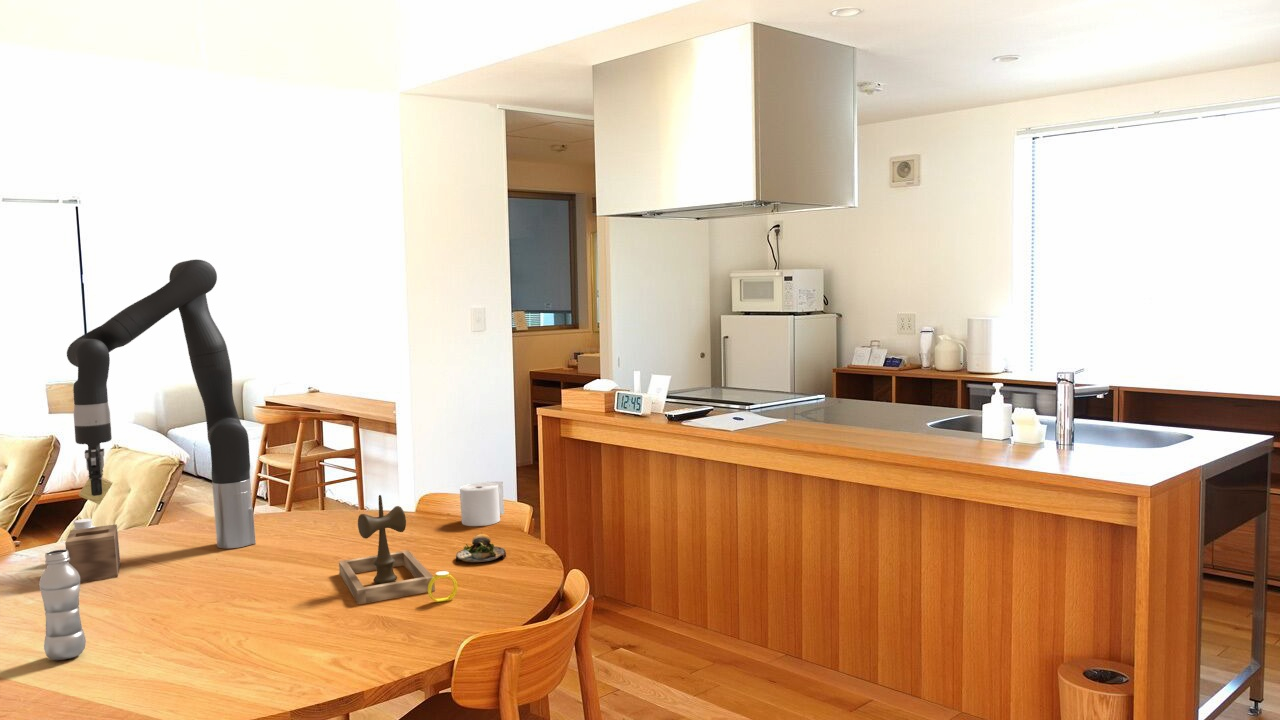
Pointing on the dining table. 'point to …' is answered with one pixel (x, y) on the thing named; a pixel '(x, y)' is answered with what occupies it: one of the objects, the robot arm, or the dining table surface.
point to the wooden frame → (388, 589)
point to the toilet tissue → (481, 503)
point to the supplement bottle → (83, 524)
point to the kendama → (383, 539)
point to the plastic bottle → (61, 607)
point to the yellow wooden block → (88, 495)
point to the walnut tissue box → (94, 552)
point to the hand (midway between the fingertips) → (97, 493)
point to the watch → (442, 575)
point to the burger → (480, 550)
